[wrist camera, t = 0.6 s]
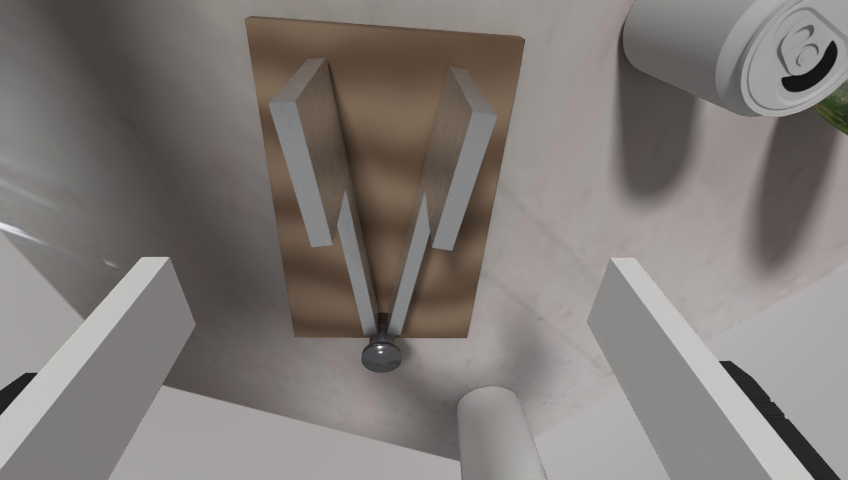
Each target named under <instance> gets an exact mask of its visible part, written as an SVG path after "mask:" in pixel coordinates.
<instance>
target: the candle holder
mask: <svg viewBox="0 0 848 480" xmlns="http://www.w3.org/2000/svg"><path fill="white" fill-rule="evenodd" d="M457 424H458V437H459V451H460V463H461V476H462V480H548V479H547V476H546V473H545V470H544V468H543V465H542V462H541V459H540V456H539V453H538V450H537V448H536V445H535V442H534V439H533V436H532V433H531V430H530V428H529V425H528V422H527V419H526V416H525V413H524V411H523V408H522V405H521V403H520V400H519V398H518V396H517V395H516V394H515V393H514V392H513V391H512V390H510V389H508V388H505V387H500V386H486V387H481V388H477V389H475V390H472V391H470V392H468V393H467V394H465V395H464V396H463V397H462V398H461V399H460V401H459V402H458V405H457Z"/></svg>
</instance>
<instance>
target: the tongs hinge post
mask: <svg viewBox="0 0 848 480" xmlns="http://www.w3.org/2000/svg"><path fill="white" fill-rule="evenodd" d="M387 323H388V313H385V312H381V313H378V327H377V334H370V342H369V345H368V346H367V347H365V349H364V350H363V352H362V363H363V365H364V366H365V367H366V368H367V369H369V370H371V371H373V372H380V373H382V372H389V371H392V370H394V369H396V368H397V367H398V366H399V365H400V363H401V351H400V349H399V348H398V347H397V346H396V345H395V335H393V334H387Z"/></svg>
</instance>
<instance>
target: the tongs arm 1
mask: <svg viewBox="0 0 848 480" xmlns="http://www.w3.org/2000/svg"><path fill="white" fill-rule="evenodd" d="M269 107H270V110H271V114H272V117H273V120H274V124H275V127H276V130H277V134H278V137H279V140H280V144H281V147H282V150H283V154H284V157H285V160H286V164H287V167H288V170H289V174H290V177H291V180H292V184H293V187H294V190H295V193H296V197H297V200H298V203H299V207H300V210H301V213H302V217H303V220H304V223H305V227H306V230H307V233H308V237H309V240H310V243H311V247H319V246H328V245H333V242H334V238H335V233H336V229H337V227H338V231H339V235H340V239H341V243H342V247H343V251H344V255H345V259H346V264H347V268H348V272H349V276H350V280H351V284H352V288H353V292H354V296H355V300H356V304H357V308H358V312H359V316H360V320H361V324H362V328H363V332H364V335H370V334H377V327H378V307H377V302H376V297H375V292H374V287H373V282H372V278H371V273H370V268H369V263H368V258H367V253H366V248H365V244H364V239H363V234H362V229H361V224H360V219H359V215H358V210H357V205H356V200H355V195H354V190H353V186H352V181H351V176H350V171H349V165H348V160H347V155H346V150H345V146H344V141H343V136H342V131H341V126H340V121H339V117H338V112H337V107H336V102H335V97H334V92H333V87H332V83H331V78H330V73H329V68H328V63H327V58H326V57H323V58H313V59H308V60H307V61H306V62H305V63H304V64H303V65H302V66H301V67H300V69H299V70H298V71H297V72H296V73H295V74H294V75H293V76H292V78H291V79H290V80H289V81H288V82H287V83H286V84H285V85H284V87H283V88H282V89H281V90H280V91H279V92H278V93H277V95H276V96H275V97H274V98H273V99H272V100H271V101H270V102H269Z"/></svg>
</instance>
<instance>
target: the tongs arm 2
mask: <svg viewBox="0 0 848 480" xmlns="http://www.w3.org/2000/svg"><path fill="white" fill-rule="evenodd" d="M496 119H497V115H496V114H495V112H494V111H493V109H492V108H491V106H490V105H489V103H488V102H487V100H486V99H485V97H484V96H483V94H482V93H481V91H480V90H479V88H478V86H477V85H476V83H475V82H474V80H473V79H472V77H471V76H470V74H469V73H468V71H467V70H466V69H462V68H458V67H454V66H450V65H449V69H448V73H447V77H446V81H445V85H444V89H443V93H442V97H441V101H440V104H439V108H438V112H437V116H436V120H435V124H434V128H433V132H432V136H431V140H430V144H429V148H428V152H427V156H426V160H425V164H424V168H423V172H422V177H421V181H420V185H419V189H418V193H417V197H416V201H415V205H414V208H413V212H412V216H411V220H410V224H409V228H408V232H407V236H406V240H405V244H404V248H403V252H402V256H401V260H400V264H399V268H398V272H397V276H396V280H395V284H394V288H393V292H392V296H391V300H390V304H389V308H388V323H387V334H393V335H400V334H401V330H402V327H403V324H404V320H405V317H406V313H407V310H408V306H409V303H410V299H411V296H412V292H413V289H414V286H415V282H416V279H417V275H418V272H419V268H420V265H421V261H422V258H423V254H424V251H425V247H426V244H427V241H428V237H429V234H430V236H431V243H432V248H438V249H444V250H451V251H452V249H453V246H454V243H455V240H456V238H457V235H458V232H459V229H460V226H461V223H462V220H463V217H464V214H465V211H466V208H467V205H468V202H469V199H470V196H471V193H472V190H473V187H474V184H475V181H476V178H477V175H478V172H479V169H480V166H481V163H482V160H483V157H484V154H485V151H486V148H487V145H488V142H489V139H490V136H491V133H492V130H493V127H494V125H495V122H496Z"/></svg>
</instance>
